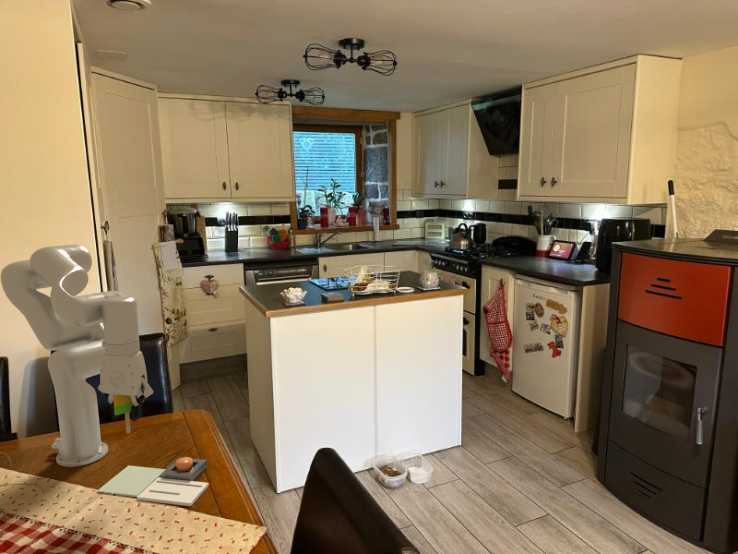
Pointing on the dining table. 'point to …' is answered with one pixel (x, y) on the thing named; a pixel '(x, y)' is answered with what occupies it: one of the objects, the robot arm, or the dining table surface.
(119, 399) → the popsicle
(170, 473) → the button housing
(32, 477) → the dining table surface
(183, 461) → the button
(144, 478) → the mat
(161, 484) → the paper board
